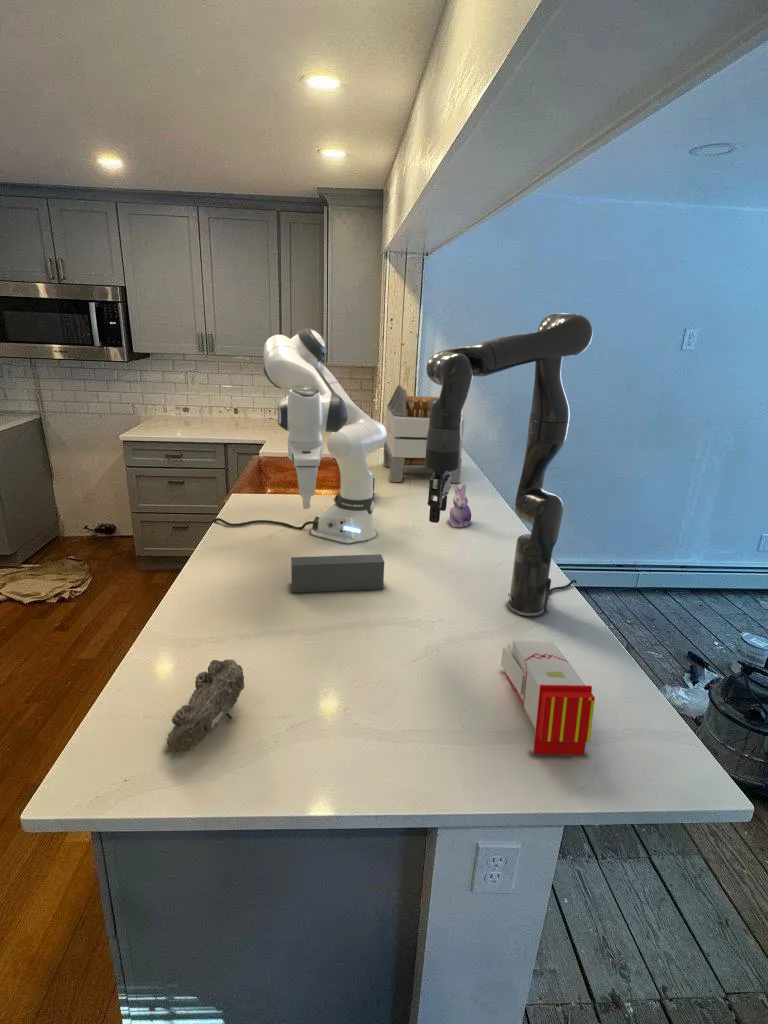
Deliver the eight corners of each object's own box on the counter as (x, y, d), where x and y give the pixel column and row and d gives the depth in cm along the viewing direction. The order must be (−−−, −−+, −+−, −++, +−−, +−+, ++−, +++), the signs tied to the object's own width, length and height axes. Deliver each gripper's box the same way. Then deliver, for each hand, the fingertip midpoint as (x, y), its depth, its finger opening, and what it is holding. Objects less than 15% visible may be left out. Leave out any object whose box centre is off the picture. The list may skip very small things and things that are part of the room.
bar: (291, 592, 156) (291, 565, 153) (291, 584, 161) (291, 557, 158) (383, 588, 160) (384, 561, 158) (379, 580, 165) (381, 554, 162)
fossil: (192, 660, 117) (244, 628, 112) (224, 691, 120) (276, 661, 115) (142, 746, 98) (202, 712, 93) (182, 779, 101) (242, 748, 96)
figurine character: (374, 507, 229) (374, 492, 242) (375, 490, 225) (375, 475, 239) (358, 507, 228) (358, 491, 242) (358, 490, 225) (359, 475, 238)
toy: (549, 624, 127) (604, 693, 98) (544, 678, 130) (596, 762, 100) (496, 622, 127) (535, 692, 97) (491, 677, 129) (528, 761, 100)
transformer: (382, 463, 289) (386, 382, 275) (445, 464, 293) (451, 384, 279) (390, 482, 257) (394, 392, 243) (460, 483, 261) (468, 394, 247)
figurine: (457, 529, 205) (460, 490, 200) (441, 520, 214) (444, 482, 209) (478, 526, 210) (482, 487, 205) (462, 517, 218) (465, 480, 213)
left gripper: (291, 441, 155) (292, 490, 159) (293, 461, 136) (294, 515, 140) (315, 442, 156) (315, 490, 160) (320, 461, 137) (320, 514, 141)
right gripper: (455, 455, 117) (448, 528, 122) (465, 441, 130) (458, 508, 135) (419, 451, 119) (414, 524, 124) (432, 438, 131) (428, 504, 137)
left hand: (305, 502), depth 150 cm, fingers open, 8 cm apart
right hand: (437, 515), depth 130 cm, fingers open, 8 cm apart
